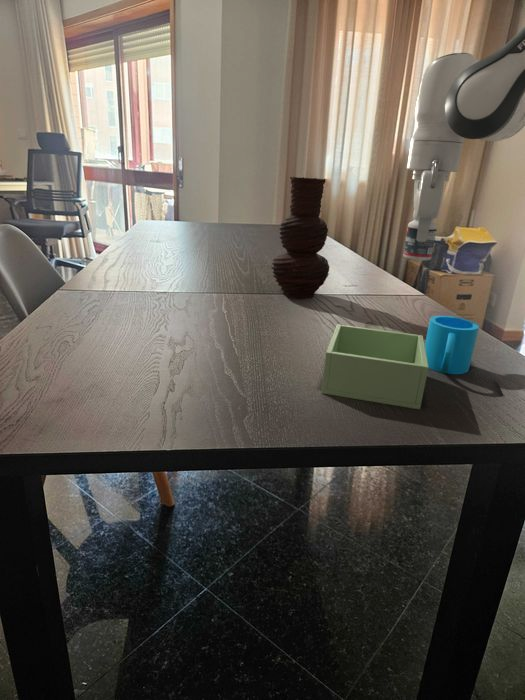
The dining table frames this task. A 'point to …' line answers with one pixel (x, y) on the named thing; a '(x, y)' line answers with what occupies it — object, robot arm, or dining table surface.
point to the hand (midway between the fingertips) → (420, 239)
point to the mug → (450, 344)
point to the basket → (376, 366)
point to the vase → (302, 241)
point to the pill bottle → (415, 247)
